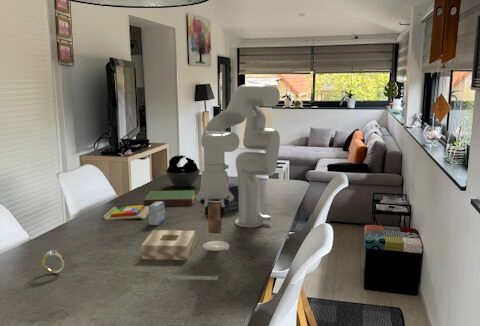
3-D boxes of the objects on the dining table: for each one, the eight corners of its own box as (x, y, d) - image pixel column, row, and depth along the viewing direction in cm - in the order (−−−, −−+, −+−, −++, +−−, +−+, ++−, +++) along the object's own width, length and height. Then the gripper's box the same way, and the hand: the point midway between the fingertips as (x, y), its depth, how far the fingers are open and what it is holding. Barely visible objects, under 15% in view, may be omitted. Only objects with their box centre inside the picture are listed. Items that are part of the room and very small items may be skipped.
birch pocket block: (195, 245, 169) (195, 230, 168) (187, 262, 153) (187, 246, 152) (154, 245, 170) (153, 230, 169) (142, 261, 155) (141, 245, 153)
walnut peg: (221, 229, 167) (221, 201, 165) (220, 233, 163) (220, 204, 161) (210, 229, 167) (209, 201, 166) (208, 233, 163) (207, 204, 161)
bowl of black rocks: (167, 183, 275) (166, 153, 271) (200, 182, 277) (199, 152, 274) (165, 191, 255) (164, 158, 252) (200, 190, 257) (199, 158, 254)
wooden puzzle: (114, 210, 220) (114, 203, 220) (152, 210, 220) (152, 203, 219) (102, 220, 203) (102, 213, 202) (143, 220, 202) (143, 213, 202)
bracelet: (41, 275, 144) (39, 251, 143) (46, 271, 148) (44, 248, 146) (62, 275, 144) (60, 252, 142) (66, 271, 147) (65, 248, 146)
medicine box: (158, 225, 194) (157, 206, 192) (149, 225, 195) (148, 205, 193) (165, 220, 202) (164, 201, 200) (156, 219, 202) (155, 201, 201)
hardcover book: (144, 207, 225) (143, 200, 224) (150, 197, 243) (150, 191, 243) (193, 206, 226) (193, 199, 225) (196, 196, 244) (196, 190, 243)
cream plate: (230, 243, 171) (230, 241, 171) (227, 253, 161) (227, 250, 161) (204, 243, 172) (204, 240, 172) (200, 252, 162) (200, 250, 162)
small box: (232, 206, 223) (232, 182, 221) (240, 209, 217) (239, 185, 215) (209, 210, 216) (209, 186, 214) (216, 213, 210) (216, 189, 208)
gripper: (238, 166, 164) (238, 214, 167) (193, 166, 165) (194, 213, 168) (236, 170, 157) (236, 220, 160) (189, 169, 158) (190, 219, 161)
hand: (214, 216), depth 164 cm, fingers closed on walnut peg, 4 cm apart
